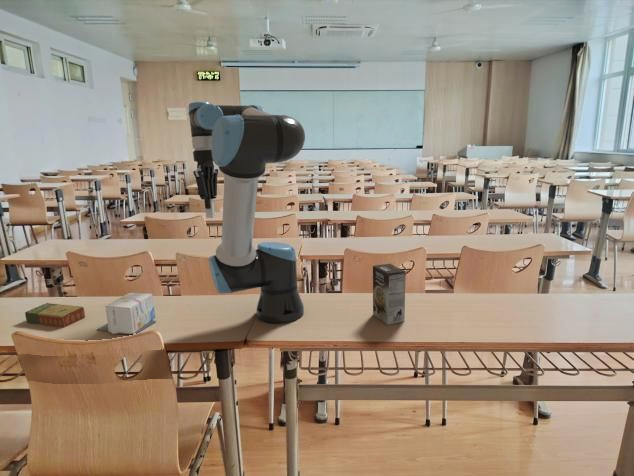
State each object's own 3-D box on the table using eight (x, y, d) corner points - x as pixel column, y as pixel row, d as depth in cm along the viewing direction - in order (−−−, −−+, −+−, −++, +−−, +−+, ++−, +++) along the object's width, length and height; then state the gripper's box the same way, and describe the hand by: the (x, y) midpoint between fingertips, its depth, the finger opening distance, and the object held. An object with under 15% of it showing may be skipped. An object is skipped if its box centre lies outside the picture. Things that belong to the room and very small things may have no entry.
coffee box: (372, 314, 134) (371, 265, 131) (389, 310, 136) (389, 262, 133) (387, 325, 126) (387, 273, 122) (405, 321, 128) (406, 270, 125)
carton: (64, 329, 132) (61, 316, 131) (26, 323, 137) (23, 311, 136) (86, 318, 140) (83, 306, 139) (49, 313, 145) (46, 301, 144)
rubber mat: (155, 322, 134) (155, 321, 134) (134, 335, 125) (134, 333, 125) (119, 317, 138) (119, 316, 138) (97, 330, 129) (96, 328, 129)
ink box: (155, 318, 136) (130, 337, 123) (132, 316, 137) (104, 335, 125) (152, 293, 134) (126, 310, 121) (128, 291, 135) (100, 308, 123)
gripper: (204, 150, 153) (210, 214, 157) (183, 150, 141) (191, 220, 145) (223, 148, 151) (228, 214, 155) (203, 149, 138) (210, 220, 143)
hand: (210, 217), depth 150 cm, fingers closed
